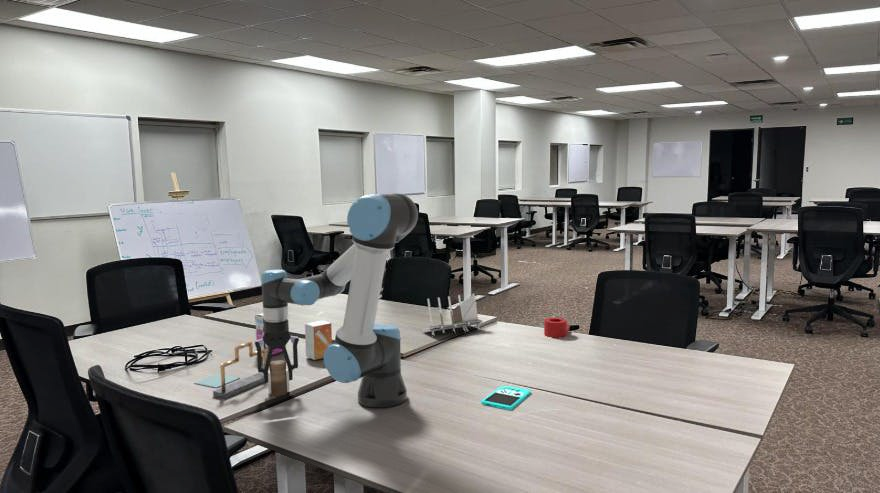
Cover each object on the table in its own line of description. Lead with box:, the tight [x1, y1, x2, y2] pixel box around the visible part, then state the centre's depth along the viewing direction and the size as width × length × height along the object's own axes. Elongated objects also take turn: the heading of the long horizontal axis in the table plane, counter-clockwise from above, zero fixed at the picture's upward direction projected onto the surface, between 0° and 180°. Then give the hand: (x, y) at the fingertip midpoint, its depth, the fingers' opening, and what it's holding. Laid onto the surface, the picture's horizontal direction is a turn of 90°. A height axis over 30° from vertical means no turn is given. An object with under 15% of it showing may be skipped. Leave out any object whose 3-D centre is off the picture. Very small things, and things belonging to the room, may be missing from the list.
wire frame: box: [212, 341, 266, 400], centre depth 192 cm, size 5×22×15 cm, turn 152°
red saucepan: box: [543, 317, 571, 339], centre depth 255 cm, size 18×9×7 cm, turn 146°
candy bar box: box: [254, 312, 287, 359], centre depth 228 cm, size 11×5×16 cm, turn 149°
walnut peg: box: [269, 359, 288, 397], centre depth 186 cm, size 5×5×10 cm
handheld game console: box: [480, 385, 532, 411], centre depth 181 cm, size 10×16×1 cm, turn 149°
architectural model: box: [421, 293, 484, 336], centre depth 258 cm, size 17×25×18 cm
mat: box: [194, 373, 240, 389], centre depth 198 cm, size 10×10×1 cm
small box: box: [304, 319, 333, 361], centre depth 224 cm, size 8×6×13 cm
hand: (279, 391), depth 186 cm, fingers closed on walnut peg, 5 cm apart
